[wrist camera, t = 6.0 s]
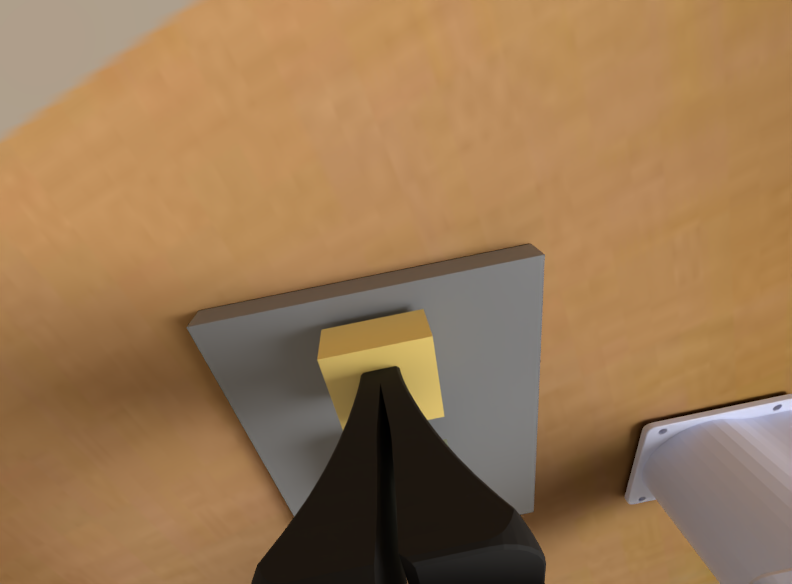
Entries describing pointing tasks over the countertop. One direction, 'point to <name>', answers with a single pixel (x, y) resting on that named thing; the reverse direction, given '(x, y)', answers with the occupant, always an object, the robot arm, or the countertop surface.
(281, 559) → the robot arm
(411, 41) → the countertop surface
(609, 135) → the countertop surface
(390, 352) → the mustard key
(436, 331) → the key panel
